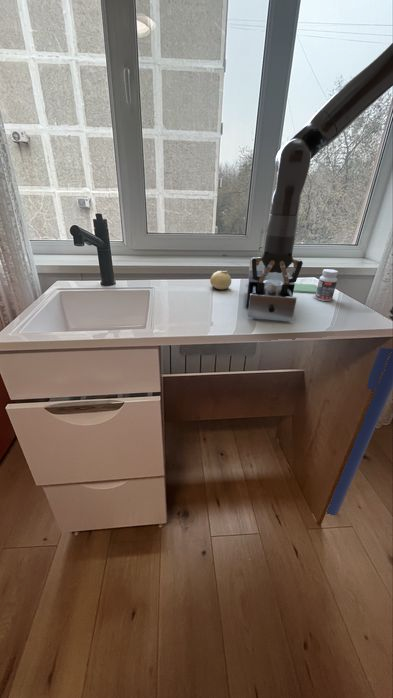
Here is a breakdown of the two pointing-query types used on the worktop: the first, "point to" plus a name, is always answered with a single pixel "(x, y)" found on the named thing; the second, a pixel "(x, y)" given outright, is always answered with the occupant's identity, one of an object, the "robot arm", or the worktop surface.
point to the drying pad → (305, 288)
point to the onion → (220, 280)
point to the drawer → (271, 306)
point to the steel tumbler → (272, 287)
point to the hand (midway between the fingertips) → (271, 294)
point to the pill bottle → (326, 285)
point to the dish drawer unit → (269, 277)
